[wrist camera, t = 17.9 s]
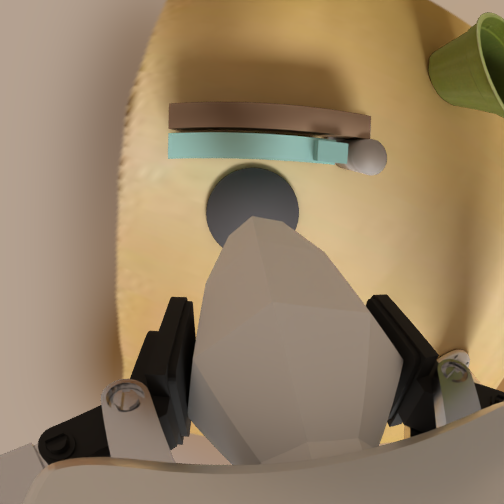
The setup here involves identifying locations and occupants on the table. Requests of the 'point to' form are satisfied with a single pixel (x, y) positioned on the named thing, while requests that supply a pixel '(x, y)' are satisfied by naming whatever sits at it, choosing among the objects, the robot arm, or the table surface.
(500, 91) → the plant pot
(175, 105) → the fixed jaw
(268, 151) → the bar
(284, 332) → the white bottle
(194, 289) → the table surface
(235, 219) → the dark grey disc
